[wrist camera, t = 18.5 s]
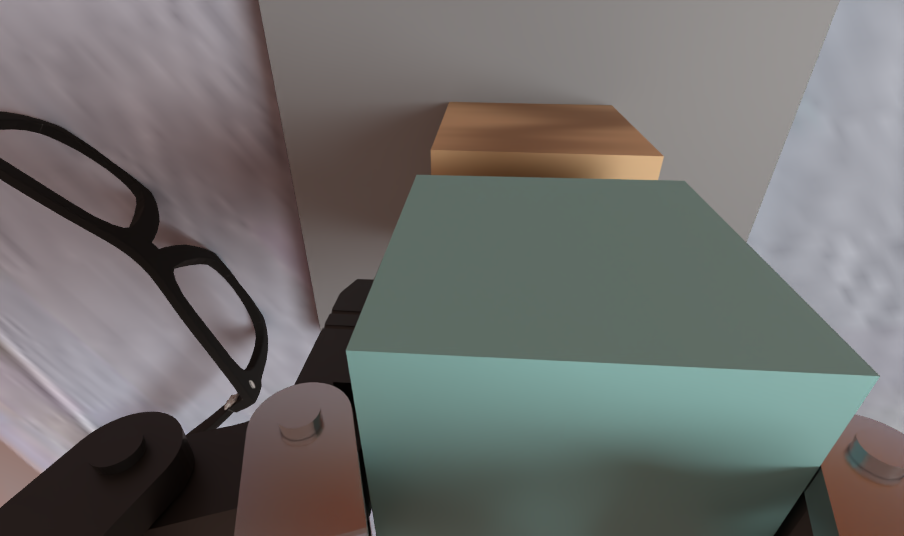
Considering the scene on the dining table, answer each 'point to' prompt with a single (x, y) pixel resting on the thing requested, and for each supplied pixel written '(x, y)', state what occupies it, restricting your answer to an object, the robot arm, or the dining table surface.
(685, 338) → the teal block
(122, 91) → the dining table surface
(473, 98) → the base board
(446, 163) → the oak block
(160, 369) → the dining table surface
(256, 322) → the black eyeglasses
